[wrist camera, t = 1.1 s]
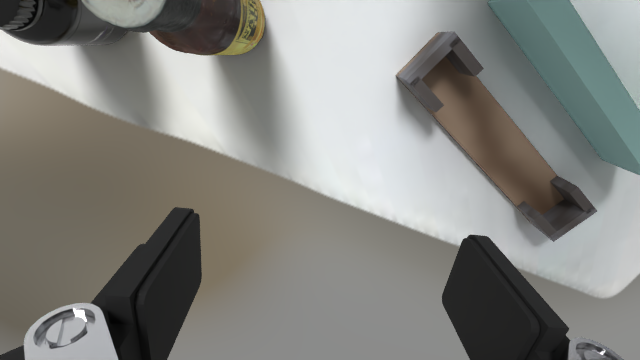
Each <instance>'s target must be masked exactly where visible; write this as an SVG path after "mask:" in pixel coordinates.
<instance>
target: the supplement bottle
mask: <svg viewBox="0 0 640 360" xmlns="http://www.w3.org/2000/svg"><path fill="white" fill-rule="evenodd" d="M0 29H1V30H3V31H4V32H6V33H7V34H9V35H10V36H12V37H14V38H16V39H18V40H20V41H23V42H26V43H29V44H34V45H43V46H63V45H106V44H111V43H114V42H116V41H118V40H119V39H121V38H122V37H123V36H124V35H125V33H126V32H127V29H124V28H120V27H116V26H113V25H111V24H109V23H107V22H105V21H103V20H101V19H99V18H98V17H97V16H95V15H94V14H93V13H92V12H91V11H90V10H89V9H88V8H87V7H86V6H85V5H84V3H83V2H82V0H0Z"/></svg>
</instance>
